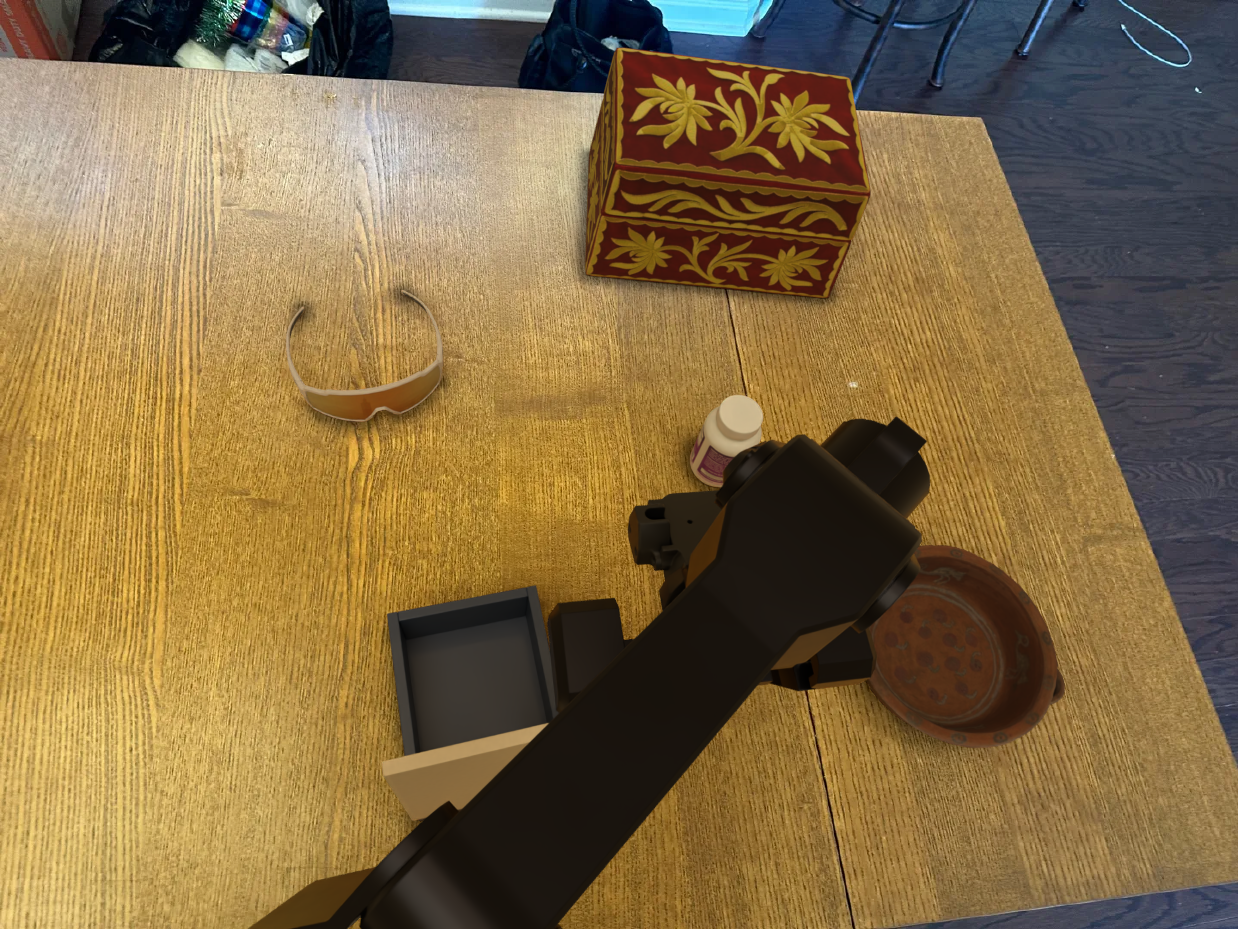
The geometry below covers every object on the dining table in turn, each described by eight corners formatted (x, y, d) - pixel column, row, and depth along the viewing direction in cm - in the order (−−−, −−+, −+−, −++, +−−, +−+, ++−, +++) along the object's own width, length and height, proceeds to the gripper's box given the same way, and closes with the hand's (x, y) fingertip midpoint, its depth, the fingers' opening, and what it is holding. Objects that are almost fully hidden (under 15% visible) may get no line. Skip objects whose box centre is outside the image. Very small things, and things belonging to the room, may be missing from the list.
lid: (381, 761, 43) (382, 776, 42) (594, 712, 45) (598, 726, 45) (410, 809, 56) (412, 821, 55) (575, 768, 58) (577, 780, 58)
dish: (821, 536, 77) (841, 515, 73) (1043, 594, 77) (1076, 577, 73) (802, 720, 69) (823, 709, 64) (1050, 784, 69) (1088, 778, 65)
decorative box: (584, 276, 87) (600, 169, 74) (588, 153, 96) (603, 37, 83) (828, 300, 91) (886, 201, 77) (811, 179, 99) (860, 71, 86)
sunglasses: (306, 442, 74) (293, 408, 70) (285, 327, 82) (272, 290, 78) (459, 410, 78) (456, 375, 74) (426, 302, 85) (420, 266, 81)
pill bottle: (752, 474, 79) (783, 425, 71) (709, 497, 77) (735, 450, 69) (721, 431, 81) (748, 378, 72) (677, 453, 79) (700, 402, 70)
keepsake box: (395, 635, 67) (386, 613, 62) (532, 608, 70) (536, 584, 64) (419, 821, 61) (411, 815, 56) (568, 784, 64) (575, 775, 58)
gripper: (873, 454, 46) (785, 552, 60) (546, 475, 43) (532, 574, 56) (933, 648, 41) (822, 706, 55) (569, 689, 38) (548, 741, 51)
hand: (682, 676), depth 55 cm, fingers open, 9 cm apart
